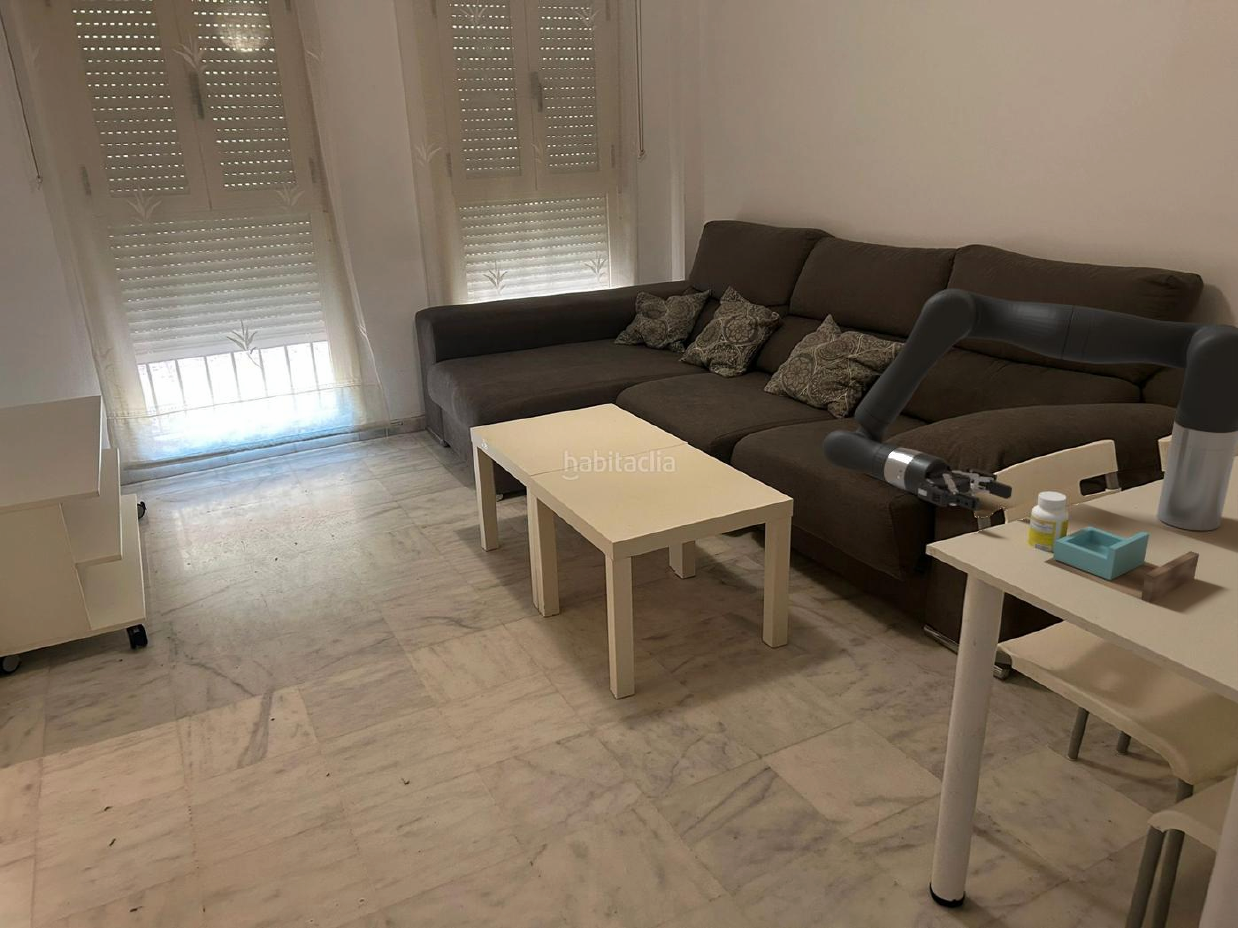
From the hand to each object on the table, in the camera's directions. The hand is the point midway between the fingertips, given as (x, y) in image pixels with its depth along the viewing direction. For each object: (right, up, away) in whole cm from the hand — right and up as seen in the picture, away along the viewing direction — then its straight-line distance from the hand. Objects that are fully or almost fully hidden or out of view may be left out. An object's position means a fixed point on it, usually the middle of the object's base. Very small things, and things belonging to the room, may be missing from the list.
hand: (994, 499), depth 149 cm
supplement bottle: (+6, -9, -6) cm, 12 cm away
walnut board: (+12, -11, -15) cm, 22 cm away
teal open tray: (+10, -9, -13) cm, 19 cm away
